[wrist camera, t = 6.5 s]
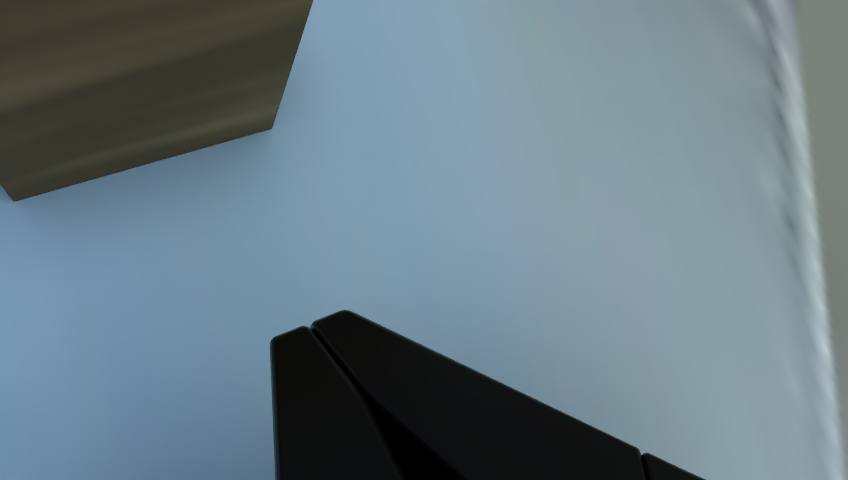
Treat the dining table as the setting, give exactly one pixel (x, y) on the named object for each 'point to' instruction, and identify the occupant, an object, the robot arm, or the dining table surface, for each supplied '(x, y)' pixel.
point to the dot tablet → (134, 82)
